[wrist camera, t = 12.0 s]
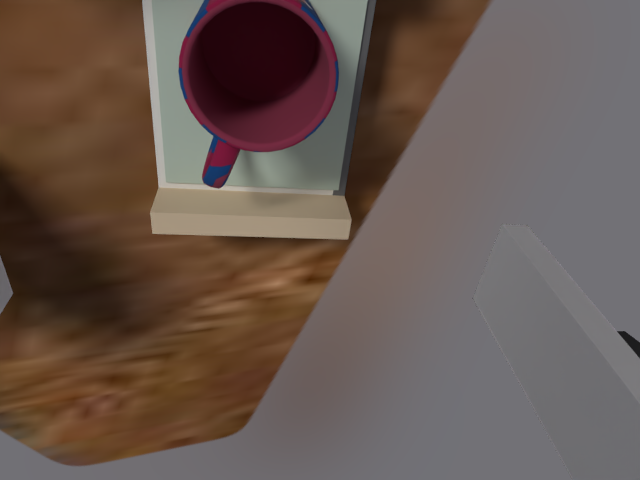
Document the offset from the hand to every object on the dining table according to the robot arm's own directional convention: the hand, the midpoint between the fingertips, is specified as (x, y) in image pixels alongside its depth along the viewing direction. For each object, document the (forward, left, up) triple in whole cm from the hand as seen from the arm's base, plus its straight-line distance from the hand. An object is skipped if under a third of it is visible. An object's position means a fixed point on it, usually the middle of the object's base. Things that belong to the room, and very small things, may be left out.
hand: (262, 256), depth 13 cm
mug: (0, -1, -17) cm, 17 cm away
